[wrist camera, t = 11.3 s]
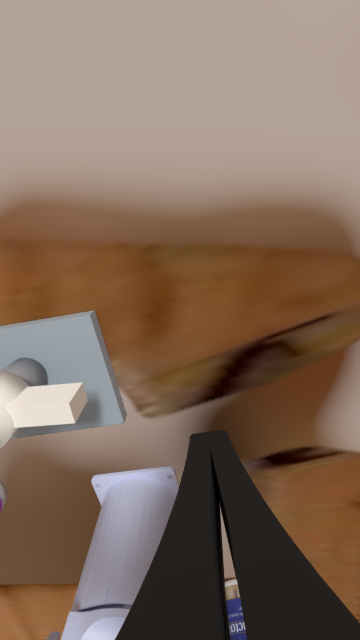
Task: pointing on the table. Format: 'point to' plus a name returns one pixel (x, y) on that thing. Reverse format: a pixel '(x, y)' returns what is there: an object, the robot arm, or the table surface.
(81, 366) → the board
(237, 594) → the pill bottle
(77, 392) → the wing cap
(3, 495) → the supplement bottle
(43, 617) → the table surface
